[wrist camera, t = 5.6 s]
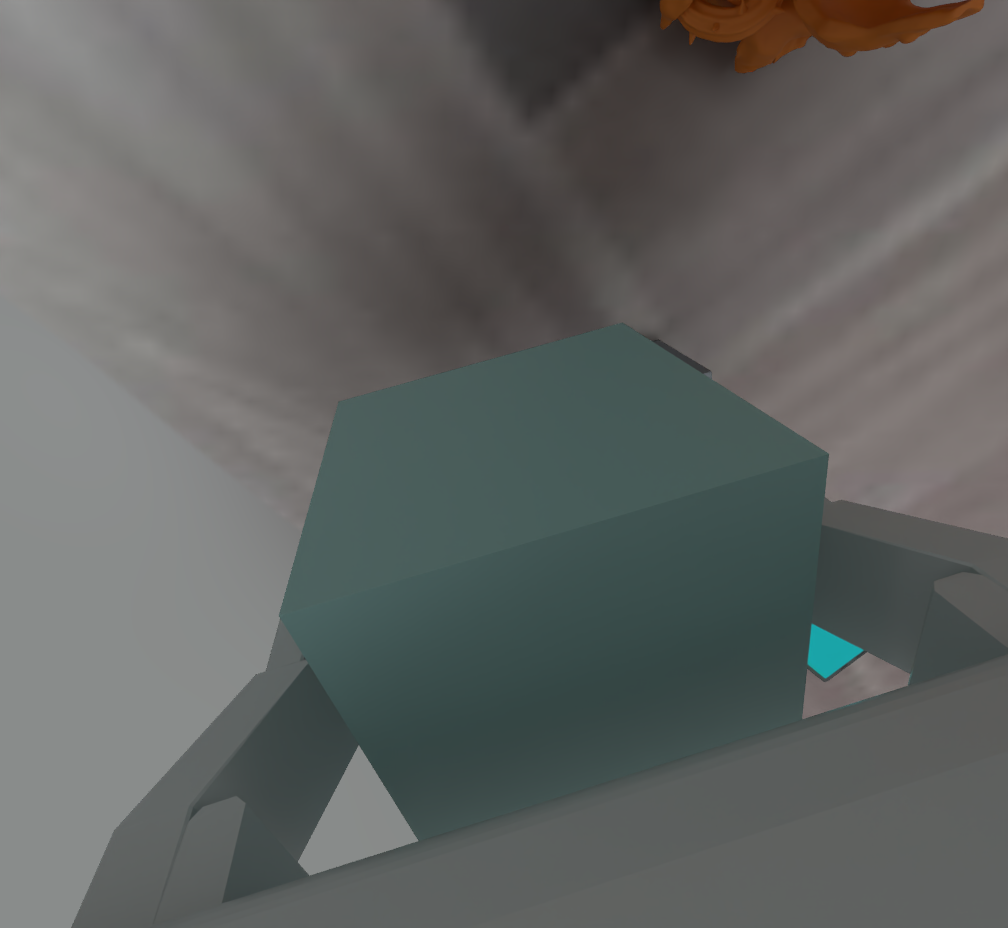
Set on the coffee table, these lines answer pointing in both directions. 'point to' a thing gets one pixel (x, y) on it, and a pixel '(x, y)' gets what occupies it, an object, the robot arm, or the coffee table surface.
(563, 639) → the brick teal
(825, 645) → the smartphone
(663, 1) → the orange figurine
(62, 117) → the coffee table surface
